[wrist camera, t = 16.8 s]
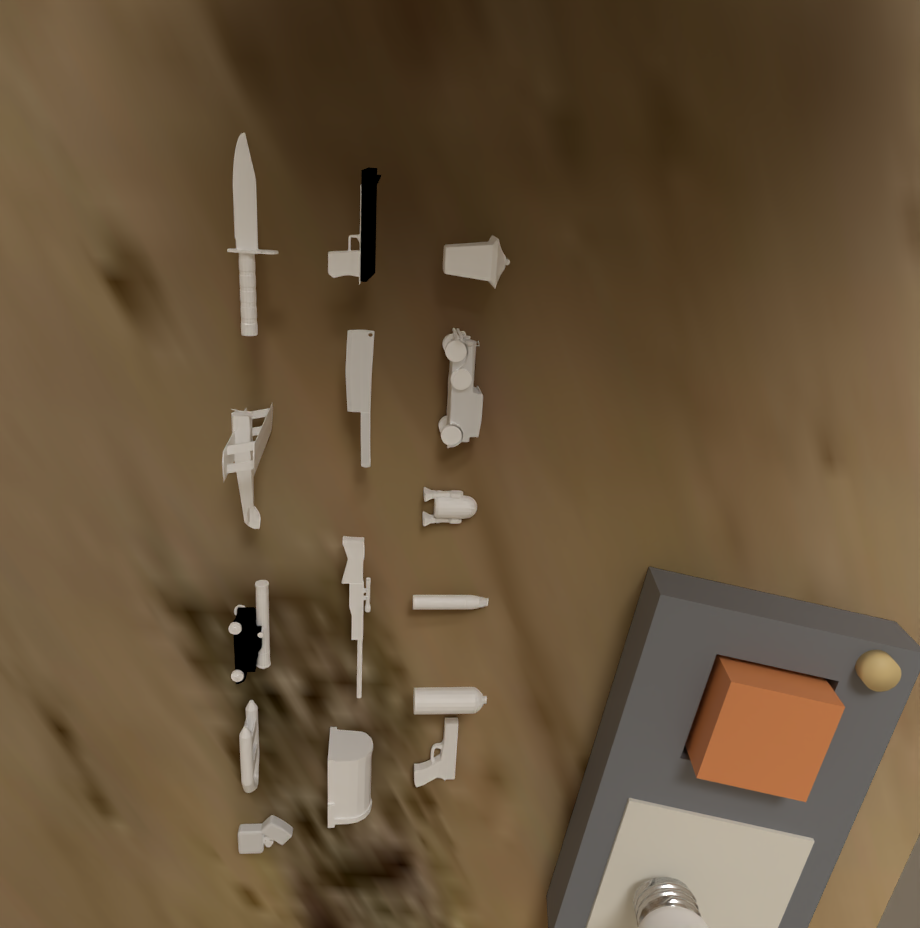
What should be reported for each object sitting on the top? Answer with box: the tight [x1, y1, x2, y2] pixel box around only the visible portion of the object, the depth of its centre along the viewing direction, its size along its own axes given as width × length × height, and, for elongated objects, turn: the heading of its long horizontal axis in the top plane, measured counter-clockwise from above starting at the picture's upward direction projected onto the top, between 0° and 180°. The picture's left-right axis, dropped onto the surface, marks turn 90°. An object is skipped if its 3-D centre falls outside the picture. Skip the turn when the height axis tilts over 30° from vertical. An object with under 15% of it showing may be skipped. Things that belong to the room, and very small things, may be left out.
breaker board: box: [547, 567, 920, 928], centre depth 39 cm, size 20×12×4 cm, turn 168°
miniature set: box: [222, 133, 510, 854], centre depth 37 cm, size 6×35×12 cm
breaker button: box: [685, 654, 845, 802], centre depth 37 cm, size 5×5×4 cm
